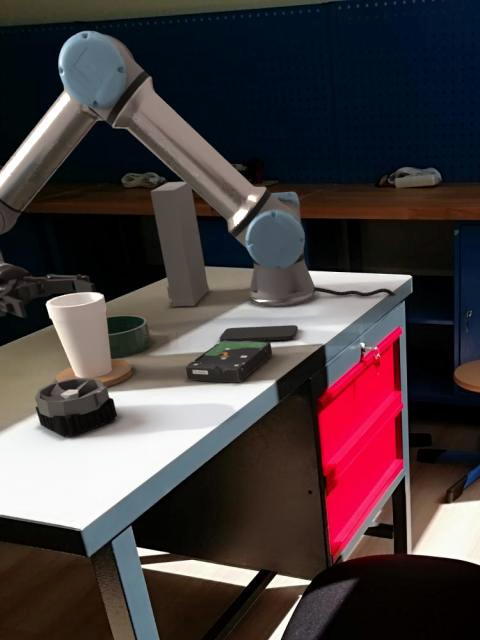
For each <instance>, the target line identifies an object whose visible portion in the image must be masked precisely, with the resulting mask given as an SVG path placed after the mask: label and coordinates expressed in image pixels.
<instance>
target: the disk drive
mask: <svg viewBox="0 0 480 640" xmlns="http://www.w3.org/2000/svg"><path fill="white" fill-rule="evenodd" d="M272 350H273V349H272V343H271V341H243V342H235V341H227V340H224V341H223V342H220V341H219V342H218V343H216V344H214V345H212V347H210V348H209V349H208V350H206V351H205V352H203V353H202V354H201V355H199V356H198V357H196V358H195V359H193V360H192V361H191V362H189V363H188V364H187V365H186V366H185V367H184V369H185V375H186V378H187V380H191V381H193V380H194V381H203V382H205V381H206V382H221V383H240V382H242V381H243V380H245V379H246V378H247V377H248V376H249V375H250V374H251V373H253V372H254V371H255V370H257V368H258V367H260V366H261V365H262V364H263V363H264V362H265V361H267V360H268V359H269V358H270V357H271V355H273V351H272Z"/></svg>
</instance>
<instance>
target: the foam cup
mask: <svg viewBox="0 0 480 640" xmlns="http://www.w3.org/2000/svg"><path fill="white" fill-rule="evenodd" d="M45 306H46V309H47V312H48V316H49V317H48V318H49V319H50V320H51V321H52V323H53V326H54V328H55V331H56V333H57V335H58V338H59V341H60V342H61V345H62V347H63V350H64V352H65V354H66V357H67V359H68V361H69V364H70V367H71V366H72V369H73V371H74V372H75V375H76V376H77V377H80V378H93V377H98V376H102V375H105V374H107V373H109V372H110V371H111V369H112V368H111V360H112V358H111V356H110V347H109V337H108V327H107V318H106V317H107V305H106V300H105V296H104V294H102V293H100V292H96V293H93V292H85V293H67V294H64V295H60V296H56V297H52V298H51V299H49V300H47V301H46V303H45Z"/></svg>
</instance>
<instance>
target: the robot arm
mask: <svg viewBox="0 0 480 640" xmlns="http://www.w3.org/2000/svg"><path fill="white" fill-rule="evenodd" d="M58 55H59V56H58V72H59V73H58V74H59V76H60V79H61V82H62V84H63V91H62V92H61V93H60V95H59V96H58V97H57V99H56V100H55V101H54V102H53V104H52V105H51V106H50V107H49V109H48V110H47V111H46V113H45V114H44V115H43V116H42V117H41V119H40V120H39V121H38V122H37V124H36V125H35V127H34V128H33V129H32V130H31V131H30V133H29V134H28V135H27V137H26V138H25V139H24V140H23V141H22V143H21V144H20V145H19V147H18V148H17V149H16V151H15V152H14V153H13V154H12V156H10V158H9V160H8V161H7V162H6V163H5V165H4V166H3V167H2V168H1V170H0V236H1V235H2V234H4V233H7V232H9V231H10V230H11V229H12V228H13V227H14V226H15V225H16V223H17V220H18V218H19V217H20V215H21V214H22V212H23V211H24V210H25V209H26V208H27V206H28V205H29V204H30V203H31V202H32V200H33V199H34V198H35V197H36V196H37V194H38V193H39V192H40V191H41V189H42V188H43V187H44V186H45V185H46V183H48V181H49V180H50V179H51V177H53V175H54V174H55V172H56V171H57V170H58V169H59V167H60V166H61V165H62V164H63V163H64V162H65V161H66V159H67V158H68V157H69V156H70V154H71V153H72V152H73V151H74V150H75V148H76V147H77V146H78V145H79V143H80V142H81V141H82V140H83V139H84V137H85V136H86V135H87V134H88V132H89V131H90V130H91V129H92V127H93V126H94V125H95V124H96V123H97V122H98V121H105V122H106V123H107V124H109V126H111V127H112V128H113V129H125V130H127V131H128V132H129V133H130V134H132V136H133V137H135V138H136V139H137V140H138V141H139V142H140V143H141V144H143V145H144V147H146V149H148V150H149V151H150V152H151V153H152V154H153V155H155V156H156V157H157V158H158V159H159V160H161V162H162V163H163V164H164V165H166V166H167V168H169V169H170V170H171V171H172V172H173V173H174V174H176V176H178V177H179V178H180V179H181V180H182V182H186V183H187V184H188V185H189V186H190V187H191V189H192V191H194V192H195V193H196V194H197V195H199V196H200V198H202V199H203V200H204V201H205V202H206V203H208V204H209V205H210V206H211V207H212V208H213V209H214V210H215V211H216V212H217V213H218V214H219V215H220V216H222V217H223V218H224V219H225V220H226V223H227V230H228V233H229V234H231V235H232V236H233V237H234V238H235V239H236V240H237V241H238V242H239V243H240V244H241V245H242V246H243V247H245V248H246V250H247V252H248V253H249V256H251V258H252V261H253V271H252V275H251V282H250V287H249V300H250V302H251V303H252V304H254V305H257V306H261V307H272V308H275V307H277V308H278V307H288V306H295V305H300V304H304V303H308V302H310V301H311V300H313V299H315V298H316V296H317V293H316V292H318V293H325V294H330V295H334V296H340V297H343V296H349V295H350V296H351V295H353V296H354V295H355V296H359V297H362V298H363V297H364V298H365V297H366V298H367V297H372V296H375V295H378V294H382V293H384V294H385V293H386V294H388V295H390V296H392V297H393V296H396V294H395V292H393V290H391V289H389V288H384V287H383V288H378V289H375V290H372V291H368V292H364V291H363V292H362V291H359V290H345V291H337V290H333V289H329V288H323V287H317V286H315V283H314V280H313V279H312V276H311V274H310V271H309V269H308V267H307V264H306V260H305V251H304V248H305V242H306V239H305V238H306V235H305V231H304V230H305V229H304V227H303V224H302V220H301V209H300V208H301V203H300V199H299V196H298V194H297V193H296V192H295V191H285V192H283V191H282V192H271V191H270V190H269V189H268V188H267V187H266V186H254V185H253V184H252V183H251V182H249V181H248V180H247V178H246V177H245V176H244V175H242V174H241V173H240V172H239V171H238V170H237V169H236V168H235V167H234V166H233V165H232V164H231V163H230V162H229V161H228V160H227V159H226V158H224V156H223V155H221V154H220V153H219V152H218V150H216V149H215V147H213V146H212V145H211V144H210V143H208V141H207V140H206V139H205V138H203V137H202V136H201V134H199V132H197V131H196V130H195V129H194V128H193V127H192V126H191V125H190V124H189V123H188V122H187V121H185V120H184V118H182V117H181V115H179V114H178V113H177V112H176V111H175V109H173V108H172V107H171V106H170V105H169V104H167V102H165V101H164V100H163V99H162V98H161V97H160V96H159V95H158V93H156V92H155V89H154V84H153V83H154V82H153V78H152V76H151V75H149V74H148V73H147V72H146V71H145V69H143V68H142V66H140V65H139V64H138V63H137V62H136V61H135V59H134V56H133V54H132V53H131V52H130V49H128V48H127V46H126V45H125V44H124V43H123V42H121V41H120V40H119V39H117V38H116V37H113V36H111V35H108V34H104V33H101V32H98V31H94V30H92V31H91V30H83V31H80V32H78V33H76V34H74V35H72V36H71V37H70V38H68V39H67V40H66V41H65V42H64V43H63V45H62V47H61V49H60V52H59V54H58ZM90 279H91V278H90V276H89V275H82V274H80V273H79V274H77V275H66V274H60V275H59V274H53V273H48V274H46V276H40V277H39V276H38V277H35V276H33V275H32V274H31V273H30V272H29V271H28V270H27V269H25V268H24V267H21V266H17V265H14V264H10V263H7V262H5V261H4V258H3V253H2V250H1V249H0V317H6V316H7V313H9V314H11V315H14V316H16V317H19V318H21V319H22V318H27V317H28V315H27V311H26V309H25V306H26V305H28V304H29V303H31V301H32V300H33V299H37V298H45V297H46V298H47V297H49V296H51V295H54V294H55V295H56V294H74V293H85V292H93V293H97V288H96V285H95V283H93V282H91V280H90Z"/></svg>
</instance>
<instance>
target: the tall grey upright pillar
mask: <svg viewBox="0 0 480 640" xmlns="http://www.w3.org/2000/svg"><path fill="white" fill-rule="evenodd" d="M150 197H151V202H152V207H153V212H154V213H153V214H154V217H155V223H156V228H157V234H158V239H159V244H160V249H161V254H162V260H163V264H164V269H165V273H166V274H165V275H166V280H167V284H168V285H167V287H166V290H167V295H168V299H169V301H168V305H169V307H171V308H176V307H196V305H197V304H198V303H199V302H200V301H201V299H202V298H203V297H204V296H205V295H206V294H207V293H208V292H209V291H210V286H209V284H208V277H207V273H206V267H205V266H206V265H205V259H204V255H203V247H202V243H201V237H200V230H199V226H198V219H197V218H198V217H197V213H196V207H195V201H194V195H193V189H192V188H191V187H190V186H189V185H188V184H187V183H186V182H184V181H172V182H171V181H170V182H169V181H168V182H167V183H164V184H162V185H160V186H159V187H157V188H156V187H155V188H154V189H152V190H150Z"/></svg>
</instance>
